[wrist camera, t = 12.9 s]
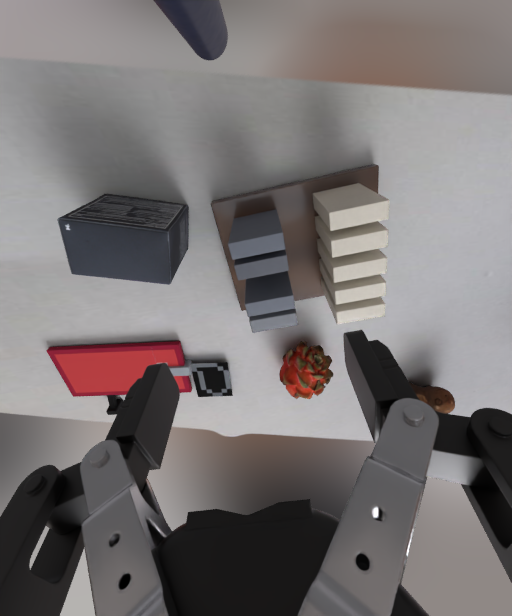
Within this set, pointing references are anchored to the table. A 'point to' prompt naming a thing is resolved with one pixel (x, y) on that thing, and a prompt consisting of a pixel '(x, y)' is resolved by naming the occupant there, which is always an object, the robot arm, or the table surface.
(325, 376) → the dragon fruit
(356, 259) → the cream thin block
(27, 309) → the table surface
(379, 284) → the white books
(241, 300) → the board
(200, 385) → the red board with handle
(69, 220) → the small box
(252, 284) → the grey books
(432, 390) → the decorative turtle
